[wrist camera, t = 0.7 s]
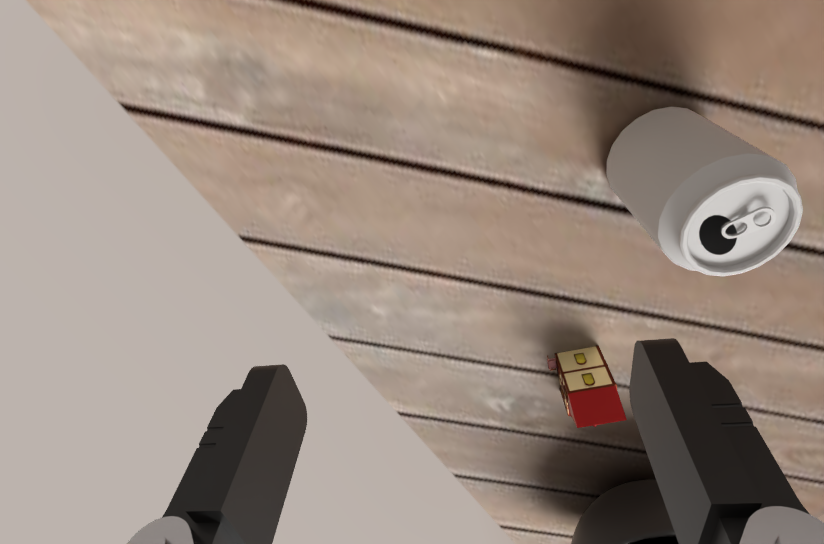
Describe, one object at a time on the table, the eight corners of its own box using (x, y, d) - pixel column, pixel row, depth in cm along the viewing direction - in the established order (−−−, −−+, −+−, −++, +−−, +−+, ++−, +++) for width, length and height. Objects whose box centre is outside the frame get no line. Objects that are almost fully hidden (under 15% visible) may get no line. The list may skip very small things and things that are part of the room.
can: (584, 146, 36) (647, 221, 26) (682, 80, 33) (795, 134, 23) (628, 217, 39) (700, 308, 29) (722, 162, 37) (836, 241, 27)
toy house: (590, 331, 46) (620, 397, 40) (617, 373, 49) (649, 441, 43) (535, 357, 48) (555, 424, 41) (565, 395, 51) (587, 463, 44)
